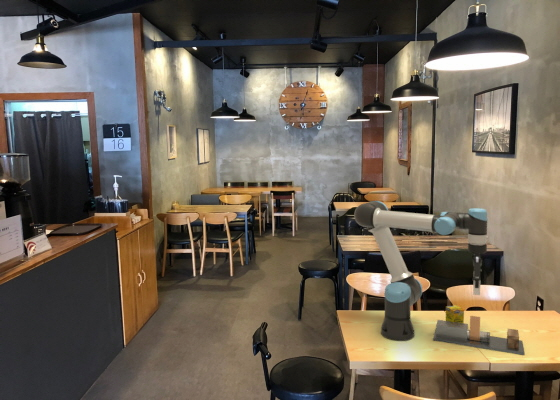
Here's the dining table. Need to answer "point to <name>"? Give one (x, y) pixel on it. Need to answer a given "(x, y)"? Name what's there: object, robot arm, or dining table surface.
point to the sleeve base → (458, 335)
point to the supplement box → (455, 314)
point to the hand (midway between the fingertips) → (476, 290)
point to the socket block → (513, 338)
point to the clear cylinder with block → (476, 330)
